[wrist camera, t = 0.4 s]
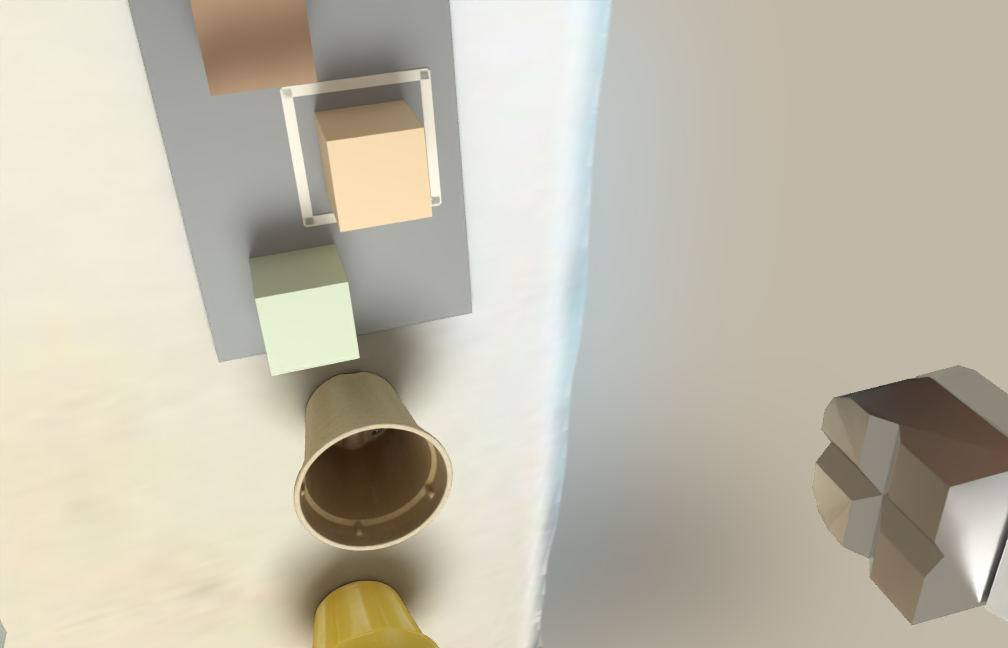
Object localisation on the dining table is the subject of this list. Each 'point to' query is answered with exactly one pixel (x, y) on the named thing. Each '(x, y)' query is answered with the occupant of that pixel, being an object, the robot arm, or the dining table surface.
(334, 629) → the plant pot
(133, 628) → the dining table surface
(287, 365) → the sage block
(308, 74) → the walnut block
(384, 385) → the flower pot
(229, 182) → the building board
